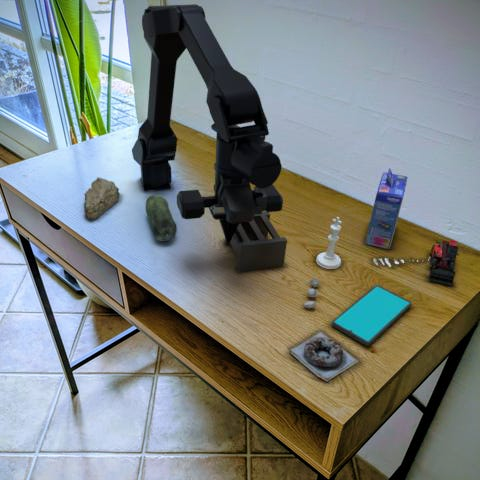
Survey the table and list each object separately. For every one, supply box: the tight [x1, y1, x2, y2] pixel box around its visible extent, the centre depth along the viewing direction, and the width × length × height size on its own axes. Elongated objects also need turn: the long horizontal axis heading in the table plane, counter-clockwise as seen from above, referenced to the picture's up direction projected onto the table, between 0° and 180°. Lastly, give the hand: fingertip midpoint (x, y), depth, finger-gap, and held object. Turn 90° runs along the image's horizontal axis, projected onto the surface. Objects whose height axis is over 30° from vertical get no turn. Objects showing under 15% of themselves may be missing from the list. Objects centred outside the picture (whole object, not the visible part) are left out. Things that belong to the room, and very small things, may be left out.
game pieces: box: [303, 276, 319, 309], centre depth 89 cm, size 8×2×2 cm
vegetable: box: [145, 194, 178, 242], centre depth 102 cm, size 14×5×5 cm
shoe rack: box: [224, 211, 288, 273], centre depth 97 cm, size 9×11×6 cm
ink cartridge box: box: [365, 167, 408, 250], centre depth 102 cm, size 10×6×14 cm, turn 161°
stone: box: [83, 176, 121, 221], centre depth 108 cm, size 14×7×5 cm, turn 169°
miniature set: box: [372, 256, 431, 268], centre depth 99 cm, size 3×12×2 cm, turn 102°
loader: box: [428, 237, 460, 287], centre depth 97 cm, size 12×5×5 cm, turn 162°
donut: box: [289, 331, 360, 382], centre depth 77 cm, size 8×8×2 cm
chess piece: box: [315, 216, 343, 270], centre depth 95 cm, size 5×5×10 cm
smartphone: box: [331, 284, 412, 347], centre depth 86 cm, size 7×1×15 cm
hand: (227, 241), depth 95 cm, fingers closed
